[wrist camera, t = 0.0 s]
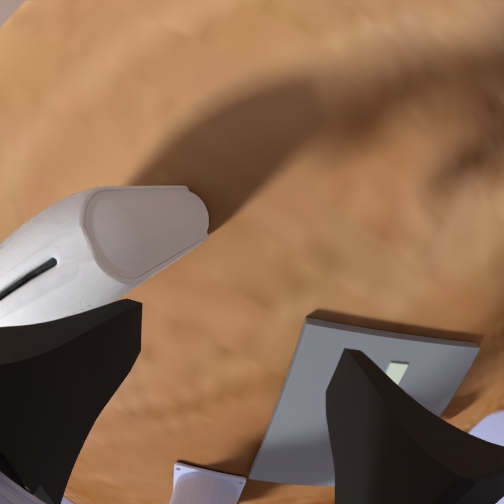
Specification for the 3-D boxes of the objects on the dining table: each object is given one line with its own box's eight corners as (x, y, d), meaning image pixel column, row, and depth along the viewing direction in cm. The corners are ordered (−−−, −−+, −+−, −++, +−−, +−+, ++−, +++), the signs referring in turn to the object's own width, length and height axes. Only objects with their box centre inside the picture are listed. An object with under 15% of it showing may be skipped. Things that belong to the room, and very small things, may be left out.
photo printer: (102, 290, 21) (-19, 365, 9) (80, 238, 20) (-54, 282, 8) (221, 239, 19) (120, 318, 7) (195, 177, 18) (59, 164, 6)
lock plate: (382, 478, 25) (385, 490, 23) (249, 471, 26) (247, 485, 24) (475, 342, 20) (485, 354, 18) (305, 316, 20) (307, 331, 18)
